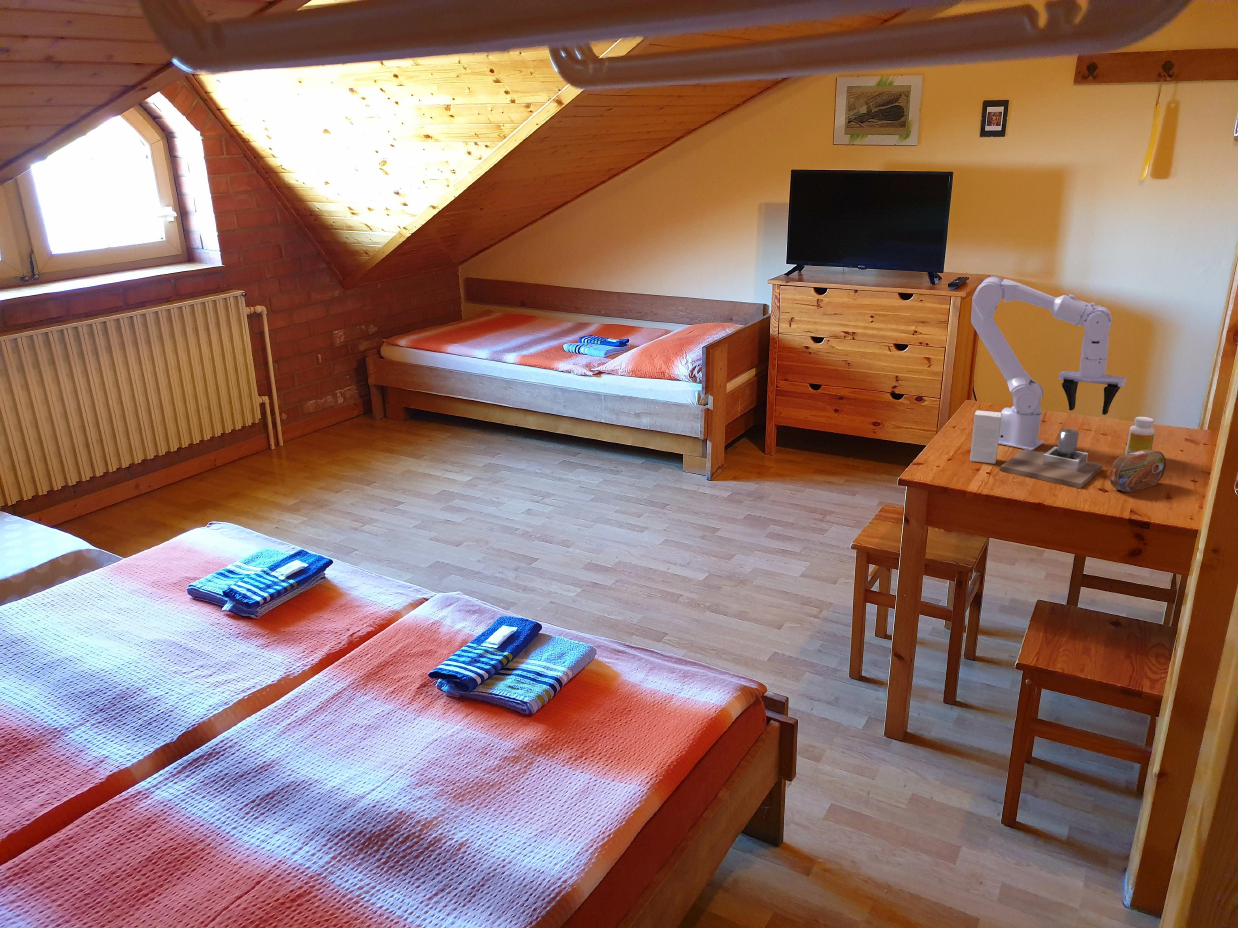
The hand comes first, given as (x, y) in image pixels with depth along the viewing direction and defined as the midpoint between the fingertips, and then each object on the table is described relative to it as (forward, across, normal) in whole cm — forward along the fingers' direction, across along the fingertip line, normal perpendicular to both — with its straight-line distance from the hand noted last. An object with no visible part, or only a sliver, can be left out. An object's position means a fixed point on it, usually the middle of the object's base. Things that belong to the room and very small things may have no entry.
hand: (1088, 411), depth 225 cm
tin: (+11, +16, -18) cm, 27 cm away
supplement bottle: (+11, +11, +5) cm, 16 cm away
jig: (+10, -2, -19) cm, 21 cm away
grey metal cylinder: (+9, 0, -16) cm, 18 cm away
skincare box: (+10, -17, -22) cm, 29 cm away
